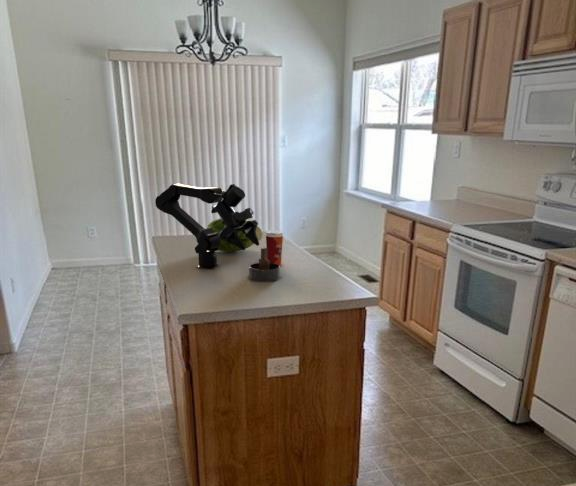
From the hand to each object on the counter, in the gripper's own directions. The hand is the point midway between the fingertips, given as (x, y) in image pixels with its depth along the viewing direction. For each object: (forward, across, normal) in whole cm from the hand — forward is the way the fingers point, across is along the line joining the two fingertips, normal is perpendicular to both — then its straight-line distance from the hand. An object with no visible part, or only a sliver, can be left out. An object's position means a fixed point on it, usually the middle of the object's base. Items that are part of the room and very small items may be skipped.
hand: (251, 247), depth 205 cm
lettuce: (-13, +30, +29) cm, 44 cm away
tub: (+12, 0, +4) cm, 13 cm away
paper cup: (+7, +18, +9) cm, 21 cm away
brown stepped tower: (+12, 0, +3) cm, 12 cm away
